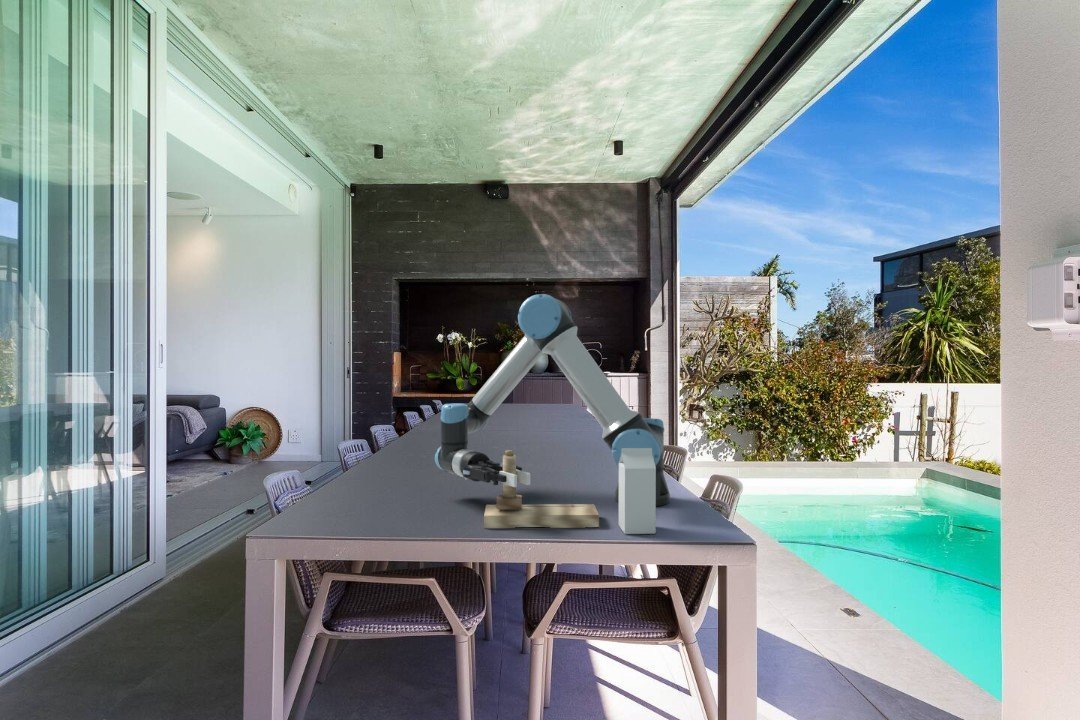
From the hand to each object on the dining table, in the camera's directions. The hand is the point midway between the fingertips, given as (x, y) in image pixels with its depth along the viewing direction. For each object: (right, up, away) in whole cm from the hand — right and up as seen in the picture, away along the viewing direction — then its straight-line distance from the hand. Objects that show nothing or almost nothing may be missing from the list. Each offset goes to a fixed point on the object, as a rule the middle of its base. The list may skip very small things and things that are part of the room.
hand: (522, 480), depth 139 cm
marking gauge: (-3, -7, +4) cm, 9 cm away
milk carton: (+27, -11, -2) cm, 29 cm away
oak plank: (+4, -11, +5) cm, 13 cm away
